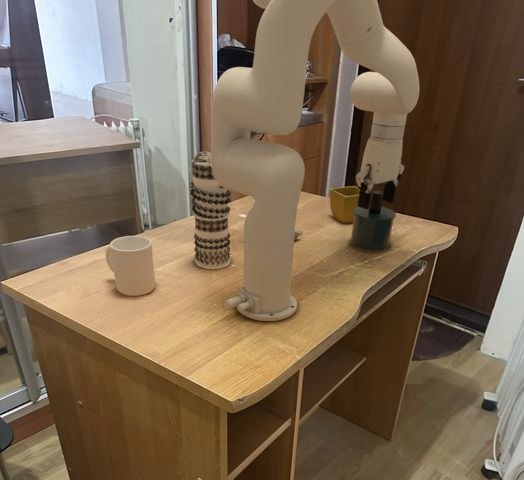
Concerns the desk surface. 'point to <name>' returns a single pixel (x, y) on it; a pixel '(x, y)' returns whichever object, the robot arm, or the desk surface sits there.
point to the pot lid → (375, 209)
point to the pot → (371, 234)
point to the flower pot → (344, 203)
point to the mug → (132, 264)
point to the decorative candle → (209, 215)
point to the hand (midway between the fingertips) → (375, 204)
